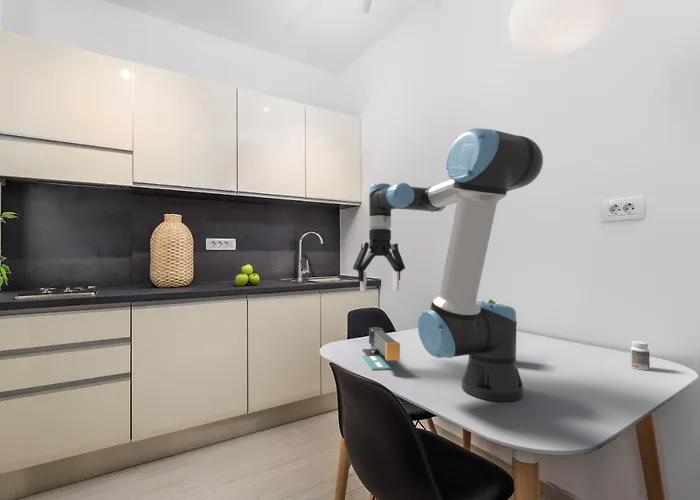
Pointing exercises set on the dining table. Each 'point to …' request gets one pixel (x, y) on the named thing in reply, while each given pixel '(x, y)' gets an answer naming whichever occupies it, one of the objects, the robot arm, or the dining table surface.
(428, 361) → the dining table surface
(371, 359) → the label
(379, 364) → the label
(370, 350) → the grey square stand
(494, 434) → the dining table surface
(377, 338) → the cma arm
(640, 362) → the pill bottle
